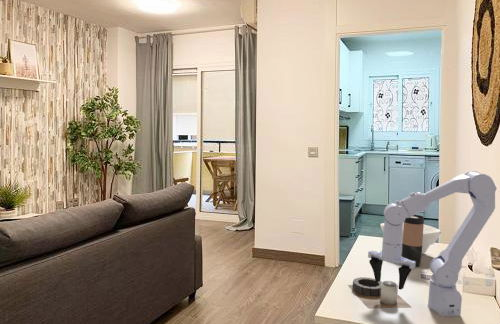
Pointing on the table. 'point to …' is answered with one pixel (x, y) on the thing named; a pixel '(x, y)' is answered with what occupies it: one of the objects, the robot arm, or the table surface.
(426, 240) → the bowl
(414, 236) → the travel mug
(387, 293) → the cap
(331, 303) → the table surface
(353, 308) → the table surface
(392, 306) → the socket board
